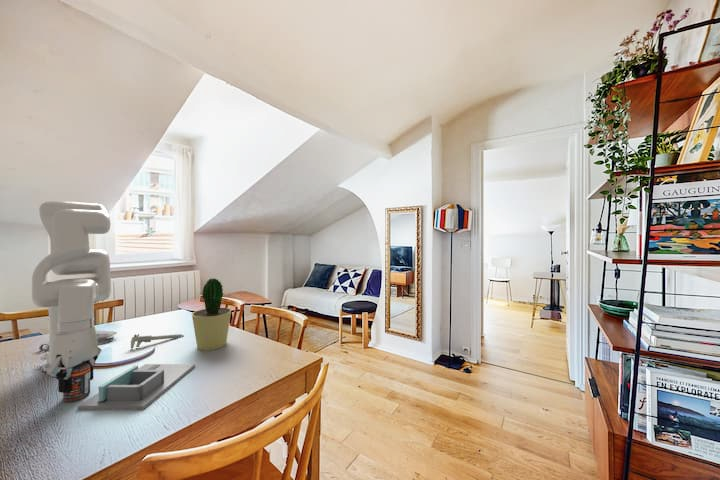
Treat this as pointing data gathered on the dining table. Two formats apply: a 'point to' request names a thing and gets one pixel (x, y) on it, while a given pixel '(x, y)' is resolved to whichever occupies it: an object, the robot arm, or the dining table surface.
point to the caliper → (151, 338)
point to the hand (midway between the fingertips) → (76, 385)
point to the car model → (101, 339)
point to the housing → (140, 387)
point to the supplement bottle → (78, 383)
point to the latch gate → (116, 382)
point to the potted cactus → (211, 318)
